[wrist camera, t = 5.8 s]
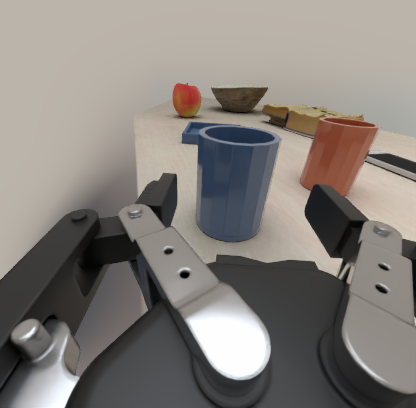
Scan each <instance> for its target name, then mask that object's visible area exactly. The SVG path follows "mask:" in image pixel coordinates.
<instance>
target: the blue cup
mask: <svg viewBox="0 0 416 408" xmlns="http://www.w3.org/2000/svg"><path fill="white" fill-rule="evenodd" d="M281 140H282V139H281V138H280V137H279V136H278V135H277V134H275V133H272V132H270V131H266V130H262V129H258V128H252V127H245V126H232V125H230V126H229V125H221V126H210V127H205V128H203V129H200V131H199V133H198V167H197V202H196V221H197V224H198V226H199V228H200V229H201V230H202V231H203V232H204V233H205V234H207V235H208V236H210V237H212V238H215V239H218V240H222V241H228V242H238V241H244V240H247V239H250V238H252V237H253V236H255V235H256V234H257V233H258V231H259V229H260V226H261V222H262V219H263V215H264V211H265V207H266V202H267V198H268V194H269V190H270V186H271V182H272V177H273V173H274V169H275V165H276V161H277V157H278V152H279V148H280V144H281Z"/></svg>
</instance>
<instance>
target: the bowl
mask: <svg viewBox="0 0 416 408" xmlns="http://www.w3.org/2000/svg"><path fill="white" fill-rule="evenodd" d="M211 89H212V92H213V94H214V95H215V97H216V99H217V100H218V102H219V103H220V104H221V105H222V107H223V108H224V109H225V110H227V111H232V112H248V111H251V110H252V109H253V108H254V107H255V106H256V105H257V103H258V102H259V101H260V100H261V98H262V97H263V96H264V94H265V93H266V91H267V89H268V87H262V86H216V87H211Z"/></svg>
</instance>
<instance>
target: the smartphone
mask: <svg viewBox="0 0 416 408" xmlns="http://www.w3.org/2000/svg"><path fill="white" fill-rule="evenodd" d="M365 161H368V162H370V163H373V164H376V165H378V166H381V167H383V168H386V169H388V170H391V171H393V172H396V173H398V174H401V175H403V176H406V177H408V178H411V179H413V180H416V162H414V161H411V160H408V159H405V158H402V157H399V156H396V155H393V154H389V153H386V152H383V151H380V150H376V151H369V153H368V156H367V158H366V160H365Z"/></svg>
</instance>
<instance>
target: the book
mask: <svg viewBox="0 0 416 408" xmlns="http://www.w3.org/2000/svg"><path fill="white" fill-rule="evenodd" d="M261 114H263V115H266V116H269V117H270V118H271V119H270V120H269V123H273V124H277V125H279V126H283V129H285V130H288V131H291V132H294V133H297V134H302V135H304V136H308V137H311V138H313V137H314V134H315V131H316V128H317V125H318V121H319V118H323V117H335V118H346V119H354V120H361V121H363V120H364V119H363V117H362V115H359V116H351V115H344V114H341V113H338V112H336V111H328V110H327V108H324V107H308V106H306V105H298V106H297V105H296V106H287V105H269V104H268V105H264V107H263V111H262V112H261Z"/></svg>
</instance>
